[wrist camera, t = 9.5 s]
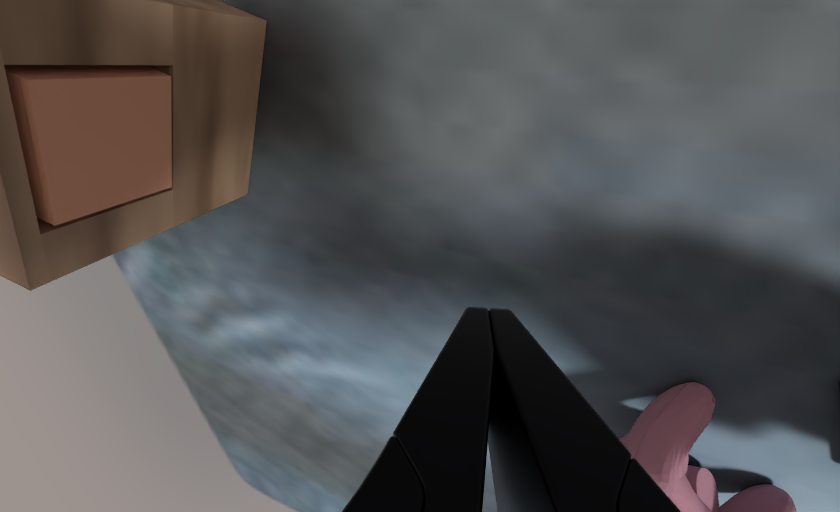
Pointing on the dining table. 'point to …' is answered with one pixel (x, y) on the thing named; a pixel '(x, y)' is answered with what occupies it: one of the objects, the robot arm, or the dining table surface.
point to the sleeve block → (190, 118)
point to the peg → (91, 135)
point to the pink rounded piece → (668, 455)
